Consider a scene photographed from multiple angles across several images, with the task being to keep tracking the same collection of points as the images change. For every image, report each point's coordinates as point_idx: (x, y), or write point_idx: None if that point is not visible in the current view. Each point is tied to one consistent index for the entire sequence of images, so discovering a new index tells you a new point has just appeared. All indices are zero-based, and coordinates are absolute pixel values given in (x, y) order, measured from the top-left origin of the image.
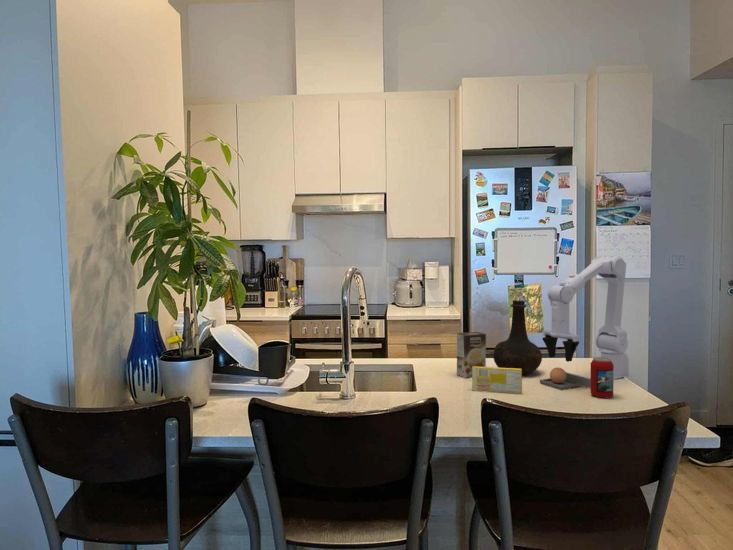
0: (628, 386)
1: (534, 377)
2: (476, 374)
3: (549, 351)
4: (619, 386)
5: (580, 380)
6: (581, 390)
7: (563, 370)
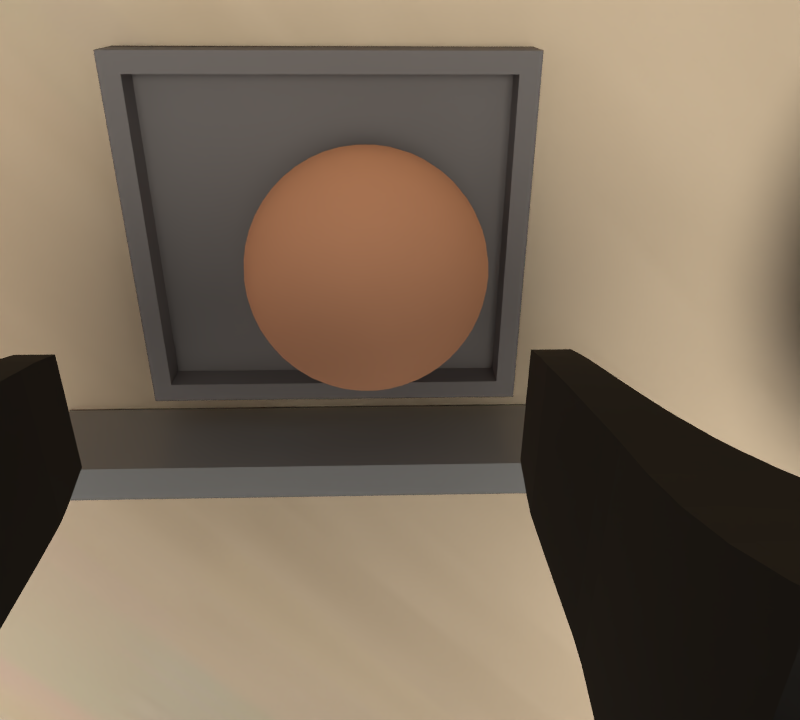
0: (24, 705)
1: (785, 222)
2: None
3: (579, 398)
4: (47, 657)
5: (197, 440)
6: (22, 265)
7: (283, 340)
